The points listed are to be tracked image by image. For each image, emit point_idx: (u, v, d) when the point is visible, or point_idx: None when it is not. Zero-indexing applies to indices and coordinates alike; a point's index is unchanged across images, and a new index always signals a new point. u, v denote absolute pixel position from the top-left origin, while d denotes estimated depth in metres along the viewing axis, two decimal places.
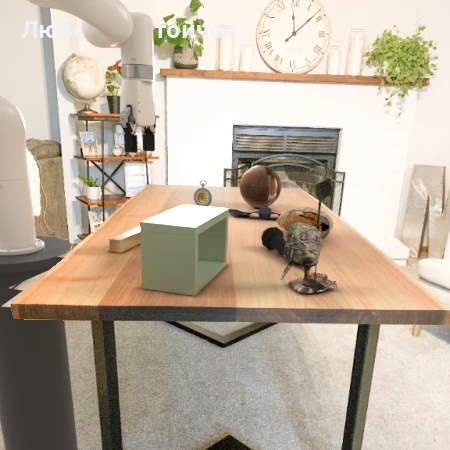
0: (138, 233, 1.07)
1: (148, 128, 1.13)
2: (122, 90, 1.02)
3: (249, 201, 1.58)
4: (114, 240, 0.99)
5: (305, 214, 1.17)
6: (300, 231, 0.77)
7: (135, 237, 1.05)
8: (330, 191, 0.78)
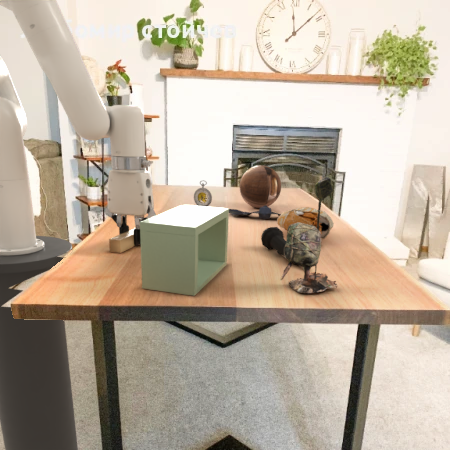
0: None
1: None
2: None
3: (249, 201, 1.58)
4: (114, 240, 0.99)
5: (305, 214, 1.17)
6: (300, 231, 0.77)
7: None
8: (330, 191, 0.78)
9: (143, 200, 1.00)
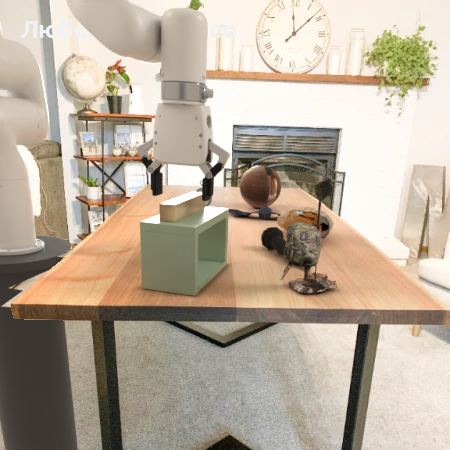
0: (193, 199, 0.82)
1: None
2: None
3: (249, 201, 1.58)
4: (166, 205, 0.74)
5: (305, 214, 1.17)
6: (300, 231, 0.77)
7: (189, 204, 0.81)
8: (330, 191, 0.78)
9: (202, 144, 0.75)
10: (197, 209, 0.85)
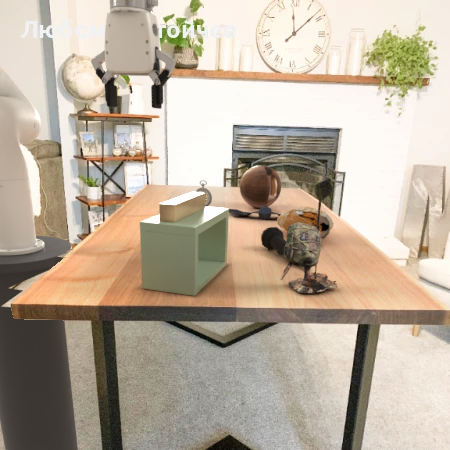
0: (193, 199, 0.82)
1: None
2: None
3: (249, 201, 1.58)
4: (166, 205, 0.74)
5: (305, 214, 1.17)
6: (300, 231, 0.77)
7: (189, 204, 0.81)
8: (330, 191, 0.78)
9: (149, 50, 0.81)
10: (197, 209, 0.85)
